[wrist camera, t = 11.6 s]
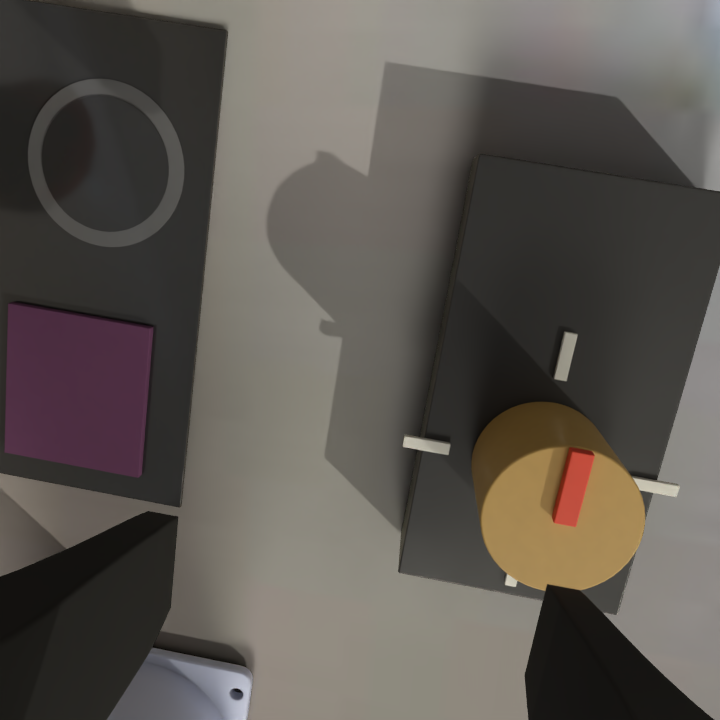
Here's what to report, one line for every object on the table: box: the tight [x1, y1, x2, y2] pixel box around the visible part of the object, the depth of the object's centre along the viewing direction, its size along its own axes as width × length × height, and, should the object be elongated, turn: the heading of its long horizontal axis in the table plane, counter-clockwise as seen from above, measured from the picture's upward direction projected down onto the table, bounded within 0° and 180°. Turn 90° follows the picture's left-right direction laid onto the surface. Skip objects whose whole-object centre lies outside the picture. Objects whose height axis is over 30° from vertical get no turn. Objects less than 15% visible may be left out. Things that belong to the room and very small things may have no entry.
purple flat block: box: [4, 302, 153, 478], centre depth 24 cm, size 6×5×1 cm
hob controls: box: [398, 154, 720, 615], centre depth 21 cm, size 13×8×3 cm, turn 171°
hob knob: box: [471, 402, 645, 591], centre depth 18 cm, size 4×4×4 cm
